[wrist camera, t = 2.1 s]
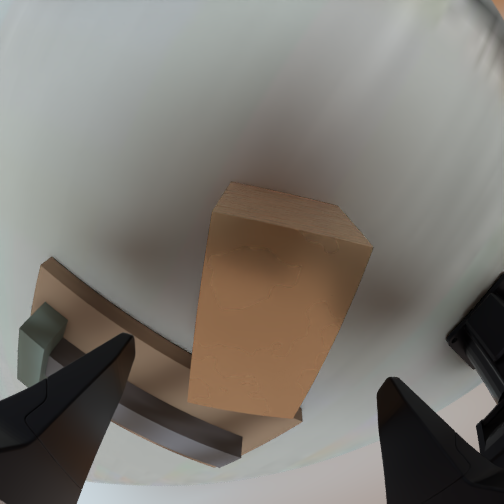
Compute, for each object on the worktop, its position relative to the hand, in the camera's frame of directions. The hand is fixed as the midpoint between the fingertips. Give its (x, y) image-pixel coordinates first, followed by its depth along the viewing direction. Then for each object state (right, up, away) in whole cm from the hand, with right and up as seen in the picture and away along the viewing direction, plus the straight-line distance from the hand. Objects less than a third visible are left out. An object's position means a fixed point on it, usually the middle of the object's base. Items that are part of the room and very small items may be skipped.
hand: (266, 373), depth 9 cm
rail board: (-8, -6, +10) cm, 15 cm away
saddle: (0, +3, +6) cm, 6 cm away
